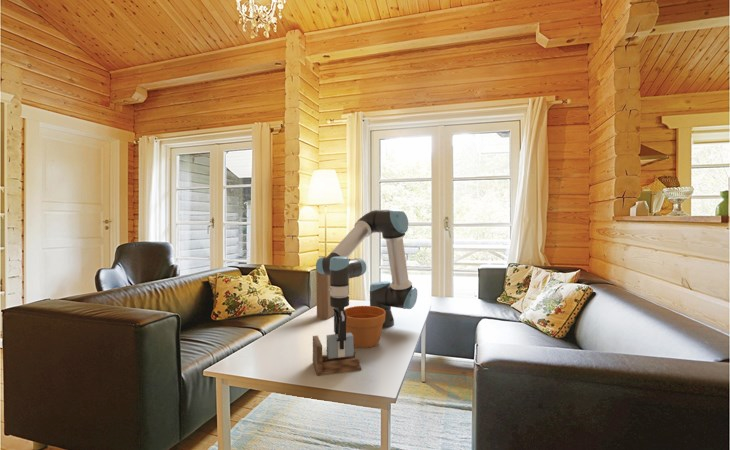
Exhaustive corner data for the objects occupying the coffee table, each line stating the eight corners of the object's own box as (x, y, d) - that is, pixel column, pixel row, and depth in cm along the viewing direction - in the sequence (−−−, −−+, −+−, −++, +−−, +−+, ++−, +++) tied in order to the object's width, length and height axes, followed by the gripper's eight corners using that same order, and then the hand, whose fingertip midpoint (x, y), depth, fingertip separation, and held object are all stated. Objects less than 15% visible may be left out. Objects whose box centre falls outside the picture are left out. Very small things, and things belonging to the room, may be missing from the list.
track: (353, 357, 143) (353, 331, 142) (361, 369, 131) (360, 341, 131) (312, 362, 138) (312, 335, 138) (317, 375, 126) (316, 346, 126)
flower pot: (377, 353, 147) (377, 319, 147) (333, 347, 154) (333, 315, 154) (391, 337, 167) (390, 307, 167) (351, 333, 174) (351, 304, 174)
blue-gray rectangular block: (351, 352, 138) (350, 332, 138) (353, 355, 134) (353, 335, 134) (326, 355, 135) (326, 335, 135) (328, 358, 132) (328, 338, 131)
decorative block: (327, 319, 198) (327, 268, 197) (316, 318, 201) (316, 267, 200) (339, 312, 212) (339, 264, 211) (328, 311, 215) (328, 264, 214)
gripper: (326, 292, 142) (327, 347, 142) (334, 301, 125) (334, 364, 126) (344, 290, 144) (344, 345, 144) (354, 300, 127) (354, 361, 128)
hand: (340, 354), depth 135 cm, fingers closed on blue-gray rectangular block, 4 cm apart
